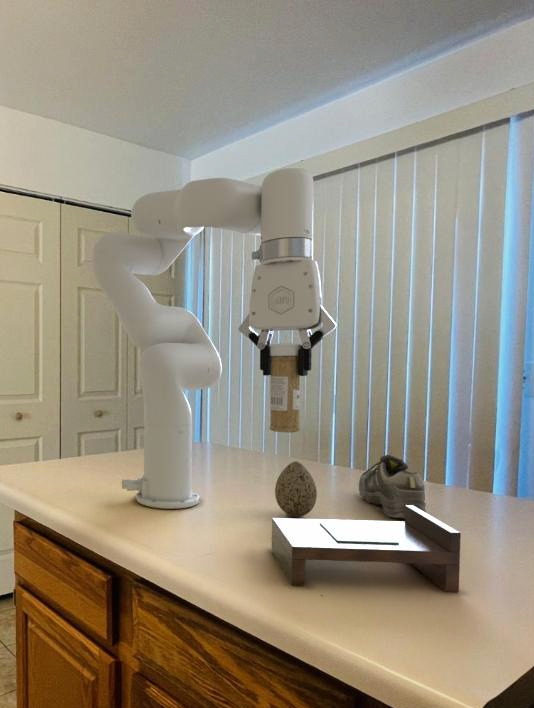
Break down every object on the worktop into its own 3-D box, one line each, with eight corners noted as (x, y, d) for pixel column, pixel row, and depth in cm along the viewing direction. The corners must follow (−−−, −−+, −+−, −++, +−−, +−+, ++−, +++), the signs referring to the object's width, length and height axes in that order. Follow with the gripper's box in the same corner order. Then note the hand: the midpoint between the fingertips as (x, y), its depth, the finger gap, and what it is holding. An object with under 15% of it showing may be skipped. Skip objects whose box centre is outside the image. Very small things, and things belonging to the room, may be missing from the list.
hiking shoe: (400, 482, 111) (374, 434, 110) (453, 524, 90) (422, 465, 89) (359, 502, 112) (333, 455, 111) (403, 547, 92) (371, 489, 91)
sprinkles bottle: (306, 432, 79) (307, 343, 78) (278, 433, 78) (280, 343, 77) (289, 428, 83) (290, 344, 83) (263, 429, 82) (264, 344, 82)
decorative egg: (307, 524, 90) (308, 467, 89) (268, 516, 94) (268, 462, 94) (321, 515, 95) (323, 461, 95) (283, 508, 100) (284, 456, 99)
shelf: (291, 585, 66) (292, 527, 65) (271, 550, 78) (272, 501, 77) (459, 592, 64) (461, 532, 64) (411, 555, 76) (413, 505, 76)
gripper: (224, 257, 81) (223, 375, 82) (342, 244, 72) (340, 376, 73) (240, 265, 87) (239, 374, 88) (350, 253, 78) (348, 375, 79)
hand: (285, 374), depth 80 cm, fingers closed on sprinkles bottle, 4 cm apart
